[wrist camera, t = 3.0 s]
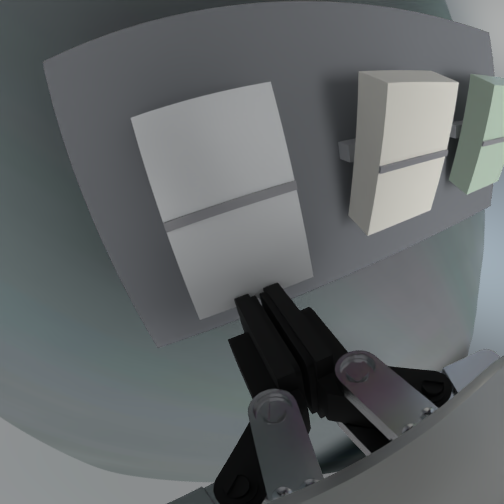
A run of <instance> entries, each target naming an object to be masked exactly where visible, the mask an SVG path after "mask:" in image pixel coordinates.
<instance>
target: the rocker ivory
mask: <svg viewBox="0 0 504 504" xmlns="http://www.w3.org/2000/svg"><path fill="white" fill-rule="evenodd" d="M458 85H459V82H457V81H455V80H452V79H450V78H448V77H445V76H443V75H441V74H438V73H436V72H433V71H425V70H377V71H359V73H358V106H357V125H356V141H355V154H354V166H353V177H352V187H351V196H350V205H349V213H348V216H349V217H350V218H351V219H352V220H353V221H354V222H355V223H356V224H357V225H358V226H359V227H360V228H361V229H362V231H363V232H364V233H365V234H366V235H367V236H369V235H371V234H374V233H376V232H379V231H381V230H384V229H386V228H389V227H391V226H394V225H396V224H398V223H401V222H403V221H406V220H408V219H411V218H413V217H415V216H418V215H420V214H423V213H425V212H427V211H430V210H431V207H432V204H433V200H434V197H435V193H436V190H437V186H438V183H439V179H440V175H441V171H442V168H443V164H444V159H445V156H447V154H448V150H447V146H448V142H449V137H450V132H451V127H452V122H453V117H454V111H455V105H456V99H457V93H458Z"/></svg>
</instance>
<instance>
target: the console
mask: <svg viewBox="0 0 504 504" xmlns="http://www.w3.org/2000/svg"><path fill="white" fill-rule="evenodd" d="M43 67H44V71H45V76H46V80H47V84H48V88H49V92H50V96H51V100H52V104H53V107H54V111H55V115H56V118H57V122H58V125H59V128H60V131H61V135H62V138H63V141H64V144H65V147H66V150H67V153H68V156H69V159H70V162H71V165H72V168H73V171H74V173H75V176H76V179H77V181H78V184H79V187H80V189H81V192H82V195H83V197H84V200H85V202H86V205H87V207H88V210H89V212H90V214H91V217H92V219H93V222H94V224H95V226H96V229H97V231H98V233H99V235H100V238H101V240H102V242H103V244H104V247H105V249H106V251H107V253H108V255H109V257H110V259H111V262H112V264H113V266H114V268H115V270H116V272H117V274H118V276H119V278H120V280H121V282H122V284H123V286H124V288H125V290H126V292H127V294H128V296H129V298H130V299H131V301H132V303H133V305H134V307H135V309H136V311H137V313H138V314H139V316H140V318H141V320H142V322H143V323H144V325H145V327H146V329H147V330H148V332H149V334H150V336H151V337H152V339H153V341H154V342H155V344H156V346H157V348H160V347H163V346H166V345H169V344H172V343H175V342H178V341H180V340H183V339H186V338H189V337H192V336H195V335H198V334H200V333H203V332H206V331H209V330H212V329H214V328H217V327H220V326H222V325H225V324H228V323H231V322H233V321H236V320H239V319H240V317H239V314H238V311H237V308H236V307H235V308H232V309H229V310H226V311H224V312H221V313H218V314H216V315H213V316H210V317H207V318H204V319H202V320H200V319H199V317H198V314H197V312H196V309H195V307H194V304H193V302H192V299H191V297H190V294H189V292H188V289H187V286H186V284H185V281H184V279H183V276H182V273H181V271H180V268H179V266H178V263H177V260H176V257H175V255H174V252H173V249H172V246H171V244H170V241H169V238H168V235H167V233H166V230H165V227H164V224H163V221H162V218H161V215H160V212H159V209H158V206H157V203H156V200H155V197H154V194H153V191H152V188H151V185H150V182H149V179H148V175H147V172H146V169H145V166H144V163H143V159H142V156H141V153H140V149H139V146H138V142H137V139H136V135H135V132H134V128H133V125H132V121H131V118H132V117H134V116H137V115H140V114H143V113H146V112H149V111H152V110H156V109H159V108H162V107H165V106H168V105H172V104H175V103H179V102H182V101H186V100H189V99H193V98H197V97H201V96H205V95H209V94H213V93H217V92H221V91H226V90H230V89H235V88H239V87H244V86H249V85H255V84H260V83H265V82H271V85H272V89H273V92H274V96H275V100H276V104H277V108H278V112H279V116H280V120H281V124H282V128H283V132H284V136H285V140H286V145H287V149H288V153H289V157H290V162H291V166H292V171H293V175H294V180H295V181H296V183H297V188H298V190H297V194H298V198H299V203H300V208H301V213H302V218H303V223H304V228H305V233H306V238H307V243H308V249H309V254H310V259H311V265H312V271H313V276H314V277H312V278H309V279H307V280H304V281H302V282H299V283H297V284H294V285H292V286H289V287H287V288H284V289H283V290H284V291H285V292H286V294H287V295H288V296H289V297H290V299H292V298H295V297H297V296H300V295H302V294H305V293H307V292H309V291H312V290H314V289H317V288H319V287H321V286H324V285H326V284H328V283H331V282H333V281H335V280H338V279H340V278H342V277H345V276H347V275H349V274H351V273H354V272H356V271H358V270H361V269H363V268H365V267H367V266H369V265H372V264H374V263H376V262H378V261H380V260H383V259H385V258H387V257H389V256H391V255H393V254H396V253H398V252H400V251H402V250H404V249H406V248H408V247H410V246H413V245H415V244H417V243H419V242H421V241H423V240H425V239H427V238H429V237H431V236H433V235H435V234H437V233H439V232H441V231H443V230H445V229H447V228H449V227H451V226H453V225H455V224H457V223H459V222H461V221H463V220H465V219H467V218H469V217H471V216H473V215H474V214H476V213H478V212H480V211H482V210H484V209H486V208H488V207H489V206H490V205H491V198H492V189H493V183H492V184H490V185H488V186H486V187H483V188H481V189H479V190H476V191H474V192H472V193H470V194H467V195H466V194H465V193H464V192H463V191H462V190H460V189H459V188H458V187H457V186H455V185H454V184H453V183H452V182H450V181H449V177H450V173H451V170H452V166H453V162H454V158H455V154H456V150H457V146H458V142H459V137H460V133H461V128H462V123H463V118H464V113H465V107H466V101H467V95H468V89H469V82H470V74H479V75H487V76H494V67H493V57H492V49H491V43H490V36H489V32H486V31H483V30H480V29H477V28H474V27H471V26H468V25H465V24H461V23H458V22H454V21H451V20H447V19H444V18H440V17H436V16H432V15H427V14H423V13H418V12H413V11H408V10H402V9H397V8H390V7H383V6H376V5H368V4H358V3H346V2H329V1H278V2H261V3H249V4H239V5H230V6H223V7H216V8H209V9H203V10H198V11H192V12H187V13H182V14H178V15H173V16H169V17H165V18H161V19H157V20H153V21H149V22H145V23H142V24H138V25H135V26H132V27H128V28H125V29H122V30H119V31H116V32H113V33H110V34H107V35H104V36H102V37H99V38H96V39H93V40H91V41H88V42H86V43H83V44H81V45H78V46H76V47H74V48H71V49H69V50H67V51H64V52H62V53H60V54H58V55H56V56H54V57H51V58H49V59H47V60H45V61H43ZM377 70H425V71H433V72H436V73H438V74H441V75H443V76H445V77H448V78H450V79H452V80H455V81H457V82H459V85H458V93H457V99H456V105H455V111H454V117H453V122H452V127H451V132H450V137H449V142H448V146H447V150H448V154H447V156H445V159H444V164H443V168H442V171H441V175H440V179H439V183H438V186H437V190H436V193H435V197H434V200H433V204H432V207H431V210H430V211H427V212H425V213H423V214H420V215H418V216H415V217H413V218H411V219H408V220H406V221H403V222H401V223H398V224H396V225H394V226H391V227H389V228H386V229H384V230H381V231H379V232H376V233H374V234H371V235H369V236H367V235H366V234H365V233H364V232H363V231H362V229H361V228H360V227H359V226H358V225H357V224H356V223H355V222H354V221H353V220H352V219H351V218H350V217H349V216H348V213H349V205H350V196H351V187H352V177H353V166H354V154H355V141H356V125H357V106H358V73H359V71H377ZM258 300H259V302H260V304H261V305H262V303H261V299H260V298H258Z"/></svg>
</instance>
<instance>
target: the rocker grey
mask: <svg viewBox="0 0 504 504" xmlns="http://www.w3.org/2000/svg"><path fill="white" fill-rule="evenodd" d="M131 121H132V125H133V128H134V132H135V135H136V139H137V142H138V146H139V149H140V153H141V156H142V159H143V163H144V166H145V169H146V172H147V175H148V179H149V182H150V185H151V188H152V191H153V194H154V197H155V200H156V203H157V206H158V209H159V212H160V215H161V218H162V221H163V224H164V227H165V230H166V233H167V235H168V238H169V241H170V244H171V246H172V249H173V252H174V255H175V257H176V260H177V263H178V266H179V268H180V271H181V273H182V276H183V279H184V281H185V284H186V286H187V289H188V292H189V294H190V297H191V299H192V302H193V304H194V307H195V309H196V312H197V314H198V317H199V319H200V320H202V319H204V318H207V317H210V316H213V315H216V314H218V313H221V312H224V311H226V310H229V309H232V308H235V307H236V304H235V301H234V299H235V298H238V297H240V296H243V295H246V294H249V295H250V297H251V296H254V295H255V296H256V297H257V299H258V298H260V295H259V294H260V293H262V292H264V291H263V288H264V287H266V286H269V285H272V284H274V283H279V284H280V286H281V287H282V288H283V289H284V288H287V287H289V286H292V285H294V284H297V283H299V282H302V281H304V280H307V279H309V278H312V277H314V276H313V271H312V265H311V259H310V254H309V249H308V243H307V238H306V233H305V228H304V223H303V218H302V213H301V208H300V203H299V198H298V194H297V190H298V188H297V183H296V181H295V180H294V175H293V171H292V166H291V162H290V157H289V153H288V149H287V145H286V140H285V136H284V132H283V128H282V124H281V120H280V116H279V112H278V108H277V104H276V100H275V96H274V92H273V89H272V85H271V82H265V83H260V84H255V85H249V86H244V87H239V88H235V89H230V90H226V91H221V92H217V93H213V94H209V95H205V96H201V97H197V98H193V99H189V100H186V101H182V102H179V103H175V104H172V105H168V106H165V107H162V108H159V109H156V110H152V111H149V112H146V113H143V114H140V115H137V116H134V117H132V118H131Z"/></svg>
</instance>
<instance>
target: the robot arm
mask: <svg viewBox="0 0 504 504" xmlns="http://www.w3.org/2000/svg"><path fill="white" fill-rule="evenodd" d="M263 291H264V292H262V293H260V294H259V295H260V299H261V303H262V305H261V304H260V302H259V300H258V299H257V297H256V296H255V295H254V296H251V297H250V295H249V294H246V295H243V296H240V297H238V298H235V299H234V301H235V304H236V308H237V311H238V314H239V317H240V320H241V323H242V326H243V330H244V334H241V335H239V336H236V337H233V338H231V339H228V341H229V344H230V347H231V349H232V352H233V354H234V357H235V359H236V362H237V364H238V367H239V369H240V371H241V374H242V376H243V378H244V381H245V383H246V385H247V387H248V390H249V392H250V394H251V396H252V401H251V402H250V404H249V407H248V416H249V421H250V422H249V424H248V426H247V427H246V429H245V431H244V433H243V434H242V436H241V438H240V440H239V441H238V443H237V445H236V447H235V448H234V450H233V452H232V453H231V455H230V457H229V458H228V460H227V462H226V463H225V465H224V467H223V468H222V470H221V472H220V473H219V475H218V477H217V478H216V480H215V482H214V483H213V484H211V485H209V486H207V487H205V488H203V487H200V488H199V489H197V490H195V491H193V492H191V493H189V494H186V495H184V496H182V497H180V498H178V499H176V500H174V501H172V502H169V503H167V504H504V356H502V357H501V358H500V357H499V355H498V354H497V353H496V352H494V351H492V350H490V349H483V350H479V351H477V352H476V353H474V354H471V355H469V356H467V357H465V358H463V359H461V360H459V361H457V362H455V363H452V364H450V365H448V366H446V367H443V369H442V371H440V372H437V371H431V370H419V369H409V368H399V367H391V366H387V365H386V364H384V363H383V362H382V361H381V360H380V359H378V358H377V357H376V356H375V355H373V354H371V353H370V352H366V351H352V352H347V351H346V349H345V348H344V347H343V346H342V344H341V343H340V342H339V341H338V340H337V338H336V337H335V336H334V335H333V334H332V332H331V331H330V330H329V329H328V327H327V326H326V325H325V324H324V323H323V321H322V320H321V319H320V318H319V317H318V315H317V314H316V313H315V312H314V311H313V310H312V309H311V308H310V307H308V308H305V309H303V310H301V311H300V310H299V309H298V308H297V307H296V305H295V304H294V303H293V301H292V300H291V299H290V297H289V296H288V295H287V294H286V292H285V291H284V290H283V288H282V287H281V286H280V284H279V283H274V284H272V285H269V286H266V287H264V288H263ZM308 408H309V410H310V411H311V413H312V414H313V413H316V412H317V413H318V415H319V416H320V418H323V417H325V416H326V418H327V419H328V420H331V421H336V423H337V424H338V426H339V427H340V428H341V429H342V430H343V431H344V432H345V433H346V434H347V435H348V437H349V438H350V439H351V440H352V441H353V442H354V443H355V444H356V445H357V446H358V447H359V448H360V449H361V450H362V451H363V452H364V453H365V454H366V455H367V456H366V457H365V458H363V459H361V460H359V461H358V462H356V463H354V464H352V465H350V466H348V467H346V468H344V469H343V470H341V471H339V472H337V473H335V474H333V475H331V476H329V477H327V478H323V475H322V472H321V469H320V466H319V463H318V461H317V458H316V455H315V452H314V449H313V447H312V444H311V441H310V438H309V435H308V434H309V431H310V429H311V427H310V420H309V413H308Z"/></svg>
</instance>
